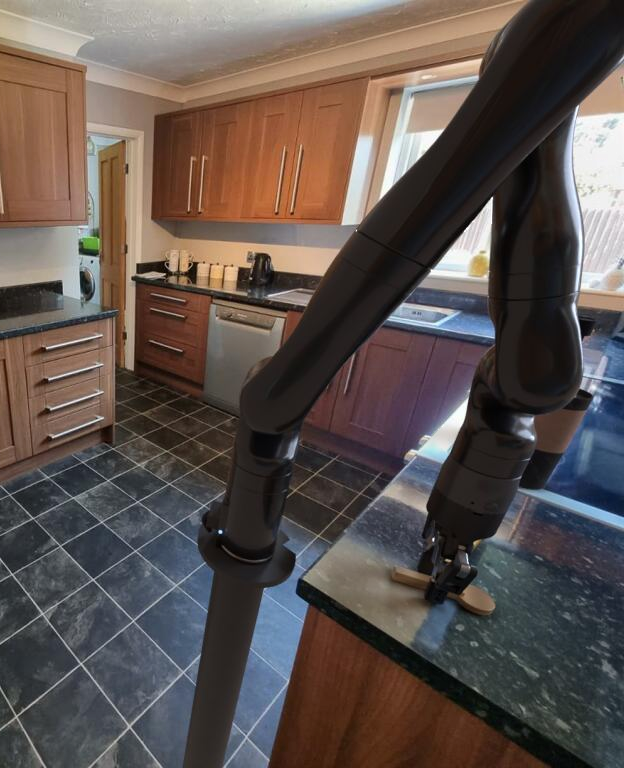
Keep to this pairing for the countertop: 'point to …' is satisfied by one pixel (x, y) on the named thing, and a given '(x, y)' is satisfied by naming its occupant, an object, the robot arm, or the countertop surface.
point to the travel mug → (554, 439)
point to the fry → (476, 543)
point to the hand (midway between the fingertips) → (428, 585)
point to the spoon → (468, 599)
